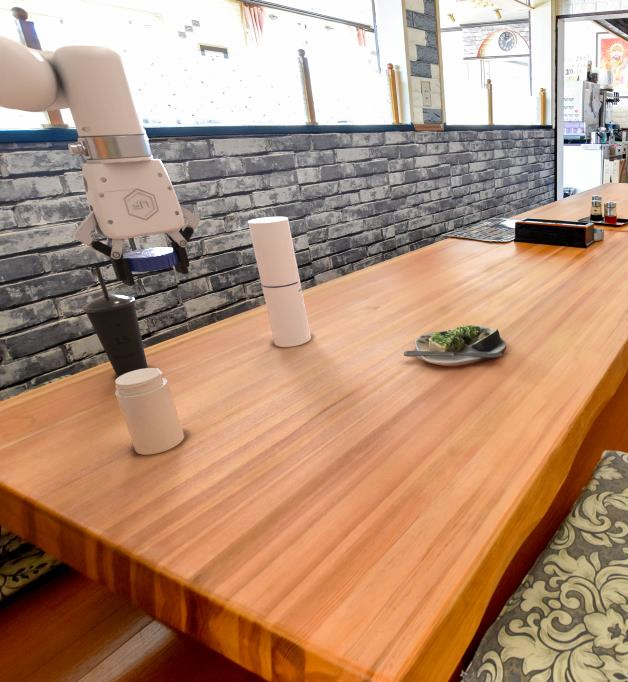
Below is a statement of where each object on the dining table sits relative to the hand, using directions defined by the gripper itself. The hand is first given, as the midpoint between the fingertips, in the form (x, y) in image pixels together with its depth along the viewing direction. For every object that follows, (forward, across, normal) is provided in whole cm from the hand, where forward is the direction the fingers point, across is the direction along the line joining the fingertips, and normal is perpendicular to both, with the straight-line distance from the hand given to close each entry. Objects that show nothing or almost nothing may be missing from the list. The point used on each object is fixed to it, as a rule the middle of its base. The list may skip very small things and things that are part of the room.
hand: (156, 277), depth 79 cm
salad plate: (+22, +41, -22) cm, 51 cm away
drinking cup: (+21, -2, +22) cm, 31 cm away
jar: (+21, -8, -9) cm, 24 cm away
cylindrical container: (+21, +24, +12) cm, 34 cm away
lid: (-3, 0, 0) cm, 3 cm away
